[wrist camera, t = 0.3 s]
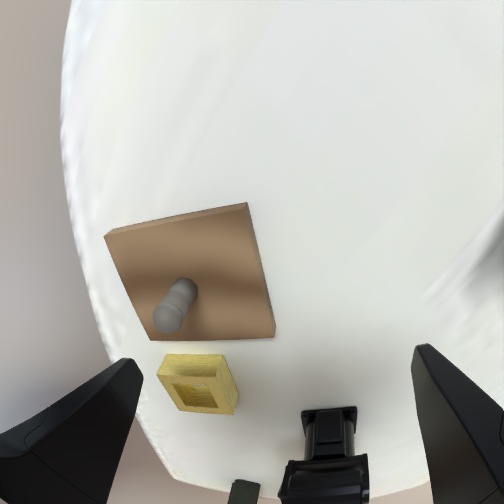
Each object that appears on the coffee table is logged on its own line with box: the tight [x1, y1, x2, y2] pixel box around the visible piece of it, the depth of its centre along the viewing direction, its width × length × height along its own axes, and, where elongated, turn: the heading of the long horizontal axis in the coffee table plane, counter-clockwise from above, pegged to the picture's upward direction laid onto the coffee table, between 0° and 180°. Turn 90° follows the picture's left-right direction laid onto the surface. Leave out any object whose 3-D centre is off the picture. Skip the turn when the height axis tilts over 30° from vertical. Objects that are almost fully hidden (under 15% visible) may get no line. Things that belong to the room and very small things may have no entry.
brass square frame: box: [156, 354, 239, 415], centre depth 28 cm, size 6×6×3 cm
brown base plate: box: [104, 202, 276, 341], centre depth 21 cm, size 11×12×6 cm
